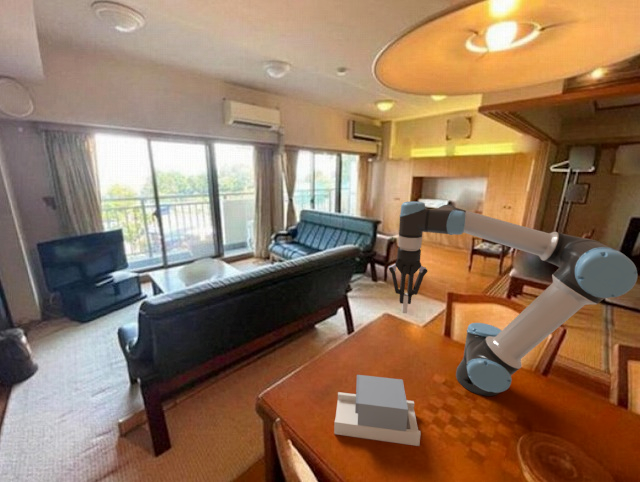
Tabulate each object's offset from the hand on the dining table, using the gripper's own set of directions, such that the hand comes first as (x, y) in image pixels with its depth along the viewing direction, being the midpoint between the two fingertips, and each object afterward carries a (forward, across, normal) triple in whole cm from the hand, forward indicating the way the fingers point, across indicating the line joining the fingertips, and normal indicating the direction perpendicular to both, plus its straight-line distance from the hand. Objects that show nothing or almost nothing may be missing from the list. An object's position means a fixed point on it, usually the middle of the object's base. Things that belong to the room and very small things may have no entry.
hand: (404, 311), depth 100 cm
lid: (+25, +8, +20) cm, 33 cm away
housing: (+29, +10, +20) cm, 37 cm away
